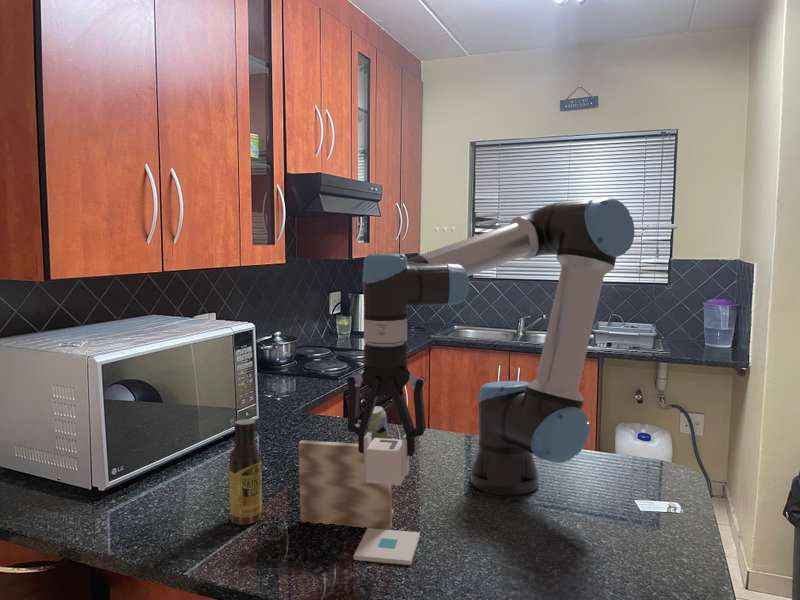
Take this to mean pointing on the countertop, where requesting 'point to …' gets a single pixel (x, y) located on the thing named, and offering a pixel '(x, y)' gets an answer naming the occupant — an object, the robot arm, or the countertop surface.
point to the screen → (340, 487)
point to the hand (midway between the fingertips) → (386, 471)
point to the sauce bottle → (245, 476)
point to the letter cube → (384, 461)
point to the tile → (387, 546)
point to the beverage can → (378, 424)
